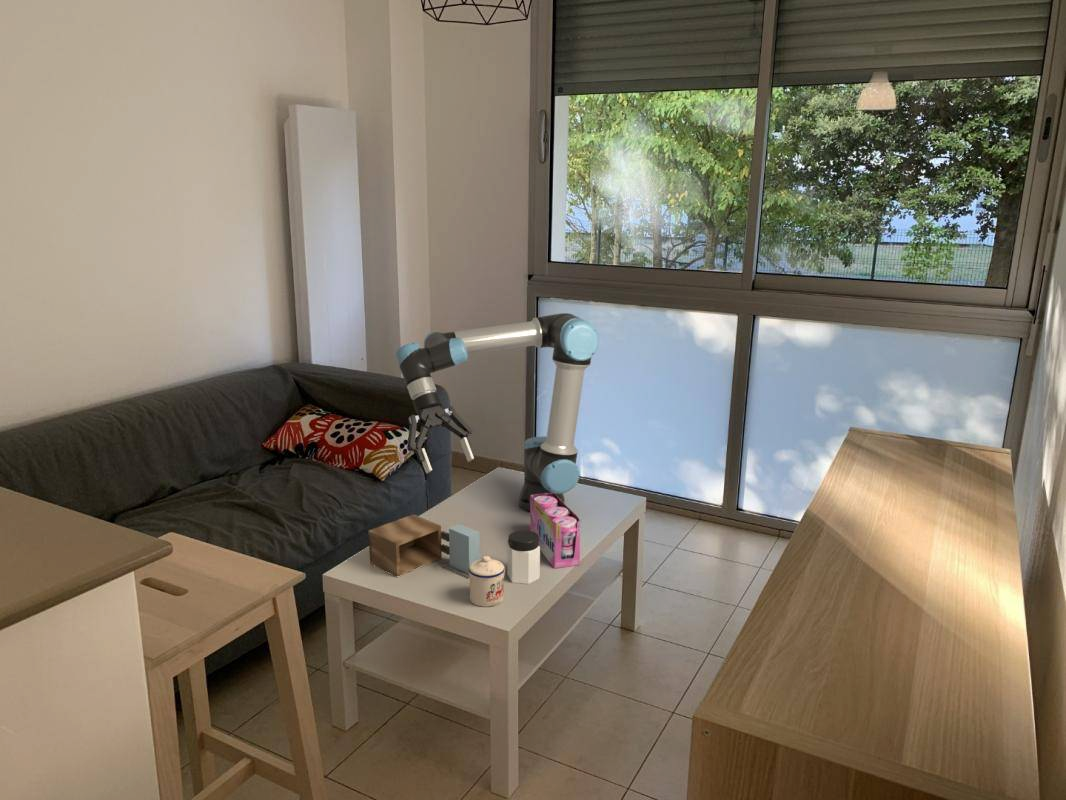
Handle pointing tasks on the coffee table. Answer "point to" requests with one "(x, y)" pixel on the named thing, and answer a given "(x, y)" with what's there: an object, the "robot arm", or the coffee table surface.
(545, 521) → the gum box
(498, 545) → the coffee table surface
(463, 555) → the door panel
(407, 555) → the cabinet
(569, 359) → the robot arm
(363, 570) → the coffee table surface
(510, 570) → the jar
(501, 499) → the coffee table surface
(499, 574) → the teacup with lid
